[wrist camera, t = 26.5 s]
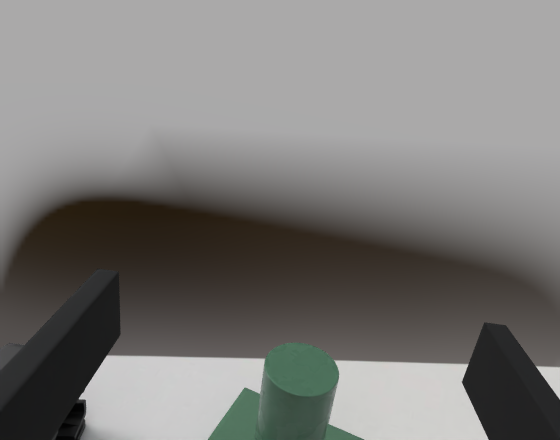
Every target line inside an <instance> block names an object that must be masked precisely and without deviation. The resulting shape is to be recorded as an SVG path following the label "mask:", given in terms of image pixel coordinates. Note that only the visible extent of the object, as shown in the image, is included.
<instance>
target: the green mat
mask: <svg viewBox="0 0 560 440" xmlns="http://www.w3.org/2000/svg"><path fill="white" fill-rule="evenodd" d="M259 400H260V394H258V393H256V392H254V391H252V390H249V389H247V388H244V389H243V391H242V392H241V394H240V395H239V396H238V398H237V399H236V401H235V402H234V403H233V405H232V406H231V408H230V409H229V410H228V412H227V413H226V415H225V416H224V417H223V419H222V420H221V422H220V423H219V424H218V426H217V427H216V429H215V430H214V431H213V433H212V434H211V436H210V437H209V439H208V440H254V436H255V428H256V421H257V414H258V407H259ZM325 440H364V439H362V438H359V437H357V436H355V435H352V434H350V433H348V432H345V431H343V430H341V429H339V428H336V427H334V426H332V425H329V424H328V427H327V432H326V436H325Z"/></svg>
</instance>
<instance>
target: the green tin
mask: <svg viewBox="0 0 560 440" xmlns="http://www.w3.org/2000/svg"><path fill="white" fill-rule="evenodd" d="M338 379H339V371H338V367H337V365H336V363H335V362H334V360H333V359H332V358H331V357H330V356H329V355H328V354H327V353H326V352H324V351H323V350H321V349H319V348H317V347H314V346H312V345H308V344H303V343H288V344H283V345H280V346H277V347H276V348H274V349H273V350H272V351H270V353H269V354H268V355H267V357H266V359H265V363H264V371H263V378H262V385H261V392H260V400H259V407H258V414H257V421H256V428H255V436H254V440H325V436H326V432H327V427H328V423H329V419H330V414H331V410H332V406H333V401H334V397H335V392H336V388H337V384H338Z"/></svg>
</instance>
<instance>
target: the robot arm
mask: <svg viewBox="0 0 560 440" xmlns="http://www.w3.org/2000/svg"><path fill="white" fill-rule="evenodd" d="M119 301H120V300H119V272H117V271H109V270H102V269H97V270H96V271H95V272H94V273H93V274H92V275H91V276H90V277H89V278H88V279H87V280H86V281H85V283H84V284H83V285H82V286H81V287H80V288H79V289H78V290H77V291H76V292H75V293H74V294H73V295H72V296H71V297H70V298H69V299H68V300H67V301H66V303H64V305H63V306H62V307H61V308H60V309H59V310H58V311H57V312H56V313H55V314H54V315H53V316H52V317H51V318H50V319H49V320H48V321H47V322H46V323H45V324H44V325H43V326H42V328H41V329H40V330H39V331H38V332H37V333H36V334H35V335H34V336H33V337H32V338H31V339H30V340H29V341H28V342H27V343H26V344H25V345H20V344H13V343H9V344H7V345H5V346H3V347H2V348H0V440H52V438H53V437H54V435H55V434H56V432H57V431H58V429H59V428H60V426H61V425H62V423H63V422H64V420H65V418H66V417H67V415H68V414H69V412H70V411H71V409H72V408H73V406H74V405H75V403H76V402H77V400H78V399H79V397H80V396H81V394H82V393H83V391H84V389H85V388H86V386H87V385H88V383H89V382H90V380H91V379H92V377H93V376H94V374H95V373H96V371H97V370H98V368H99V367H100V365H101V363H102V362H103V360H104V359H105V357H106V356H107V354H108V353H109V351H110V350H111V348H112V347H113V345H114V344H115V342H116V341H117V339H118V338H119V336H120V302H119ZM462 383H463V386H464V388H465V390H466V392H467V394H468V396H469V398H470V401H471V403H472V405H473V407H474V409H475V411H476V413H477V415H478V418H479V420H480V422H481V424H482V426H483V428H484V430H485V433H486V435H487V437H488V439H489V440H560V399H559V398H558V397H557V395H556V394H555V393H554V391H553V390H552V388H551V387H550V386H549V384H548V383H547V381H546V380H545V379H544V377H543V376H542V375H541V373H540V372H539V370H538V369H537V368H536V366H535V365H534V364H533V362H532V361H531V359H530V358H529V357H528V355H527V354H526V353H525V351H524V350H523V348H522V347H521V346H520V344H519V343H518V342H517V340H516V339H515V338H514V336H513V335H512V333H511V332H510V331H509V329H508V328H507V326H505V325H499V324H491V323H484V325H483V328H482V330H481V333H480V335H479V338H478V341H477V343H476V346H475V349H474V352H473V354H472V357H471V359H470V362H469V365H468V367H467V370H466V373H465V375H464V378H463V381H462Z"/></svg>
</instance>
